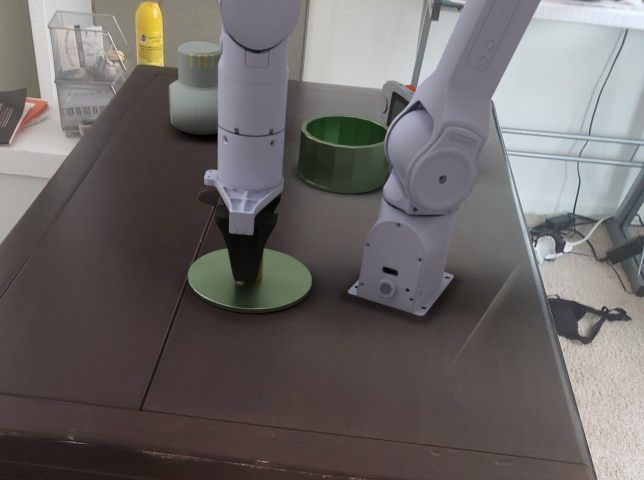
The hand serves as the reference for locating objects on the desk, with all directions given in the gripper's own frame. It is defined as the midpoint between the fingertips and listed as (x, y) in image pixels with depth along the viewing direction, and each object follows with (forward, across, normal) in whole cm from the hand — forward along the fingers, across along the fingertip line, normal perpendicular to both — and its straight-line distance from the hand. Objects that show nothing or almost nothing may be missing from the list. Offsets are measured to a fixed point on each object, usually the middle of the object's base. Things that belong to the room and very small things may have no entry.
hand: (246, 272), depth 73 cm
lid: (+1, 0, 0) cm, 1 cm away
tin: (+1, -30, +9) cm, 31 cm away
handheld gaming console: (+2, -38, +18) cm, 42 cm away
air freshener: (+2, -42, -10) cm, 43 cm away
